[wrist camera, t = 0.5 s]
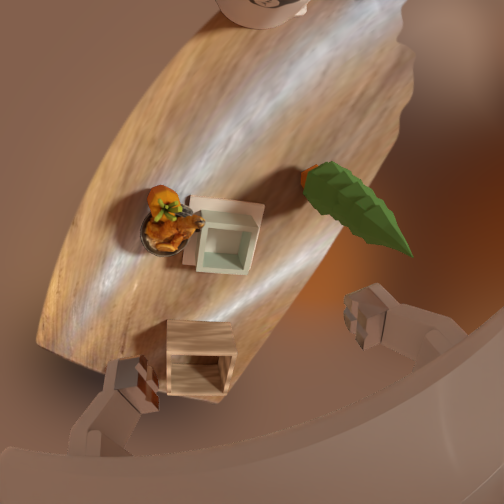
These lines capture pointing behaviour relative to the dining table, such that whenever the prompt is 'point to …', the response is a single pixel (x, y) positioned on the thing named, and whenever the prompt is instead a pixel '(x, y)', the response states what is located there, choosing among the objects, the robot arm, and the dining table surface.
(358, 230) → the decorative tree
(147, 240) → the bowl of food
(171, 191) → the carrot
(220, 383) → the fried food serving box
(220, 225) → the open rectangular box
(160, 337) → the dining table surface
